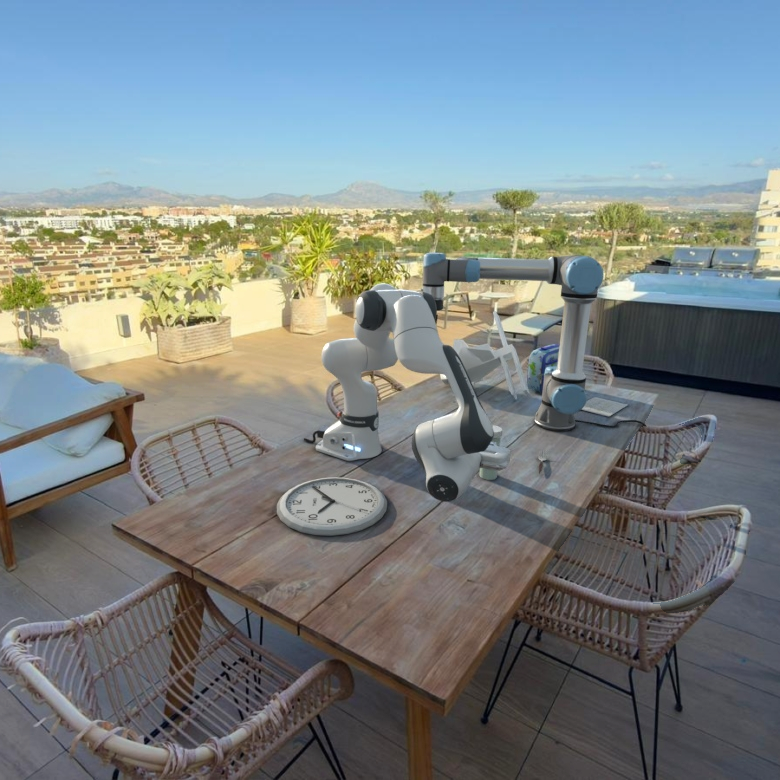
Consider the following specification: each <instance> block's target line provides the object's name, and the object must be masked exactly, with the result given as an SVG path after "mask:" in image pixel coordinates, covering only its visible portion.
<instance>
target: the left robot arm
mask: <svg viewBox="0 0 780 780" xmlns="http://www.w3.org/2000/svg"><path fill="white" fill-rule="evenodd" d="M354 313H355V314H354V315H355V319H354V323H353V334H354V336H355V337H350V338H340V339H335V340H332V341H329V342H326V343H325V344H324V346H323V347H322V350H321V354H320V359H321V363H322V366H323V367H324V368H325V370H326V371H327V372H328V373H330V374H332V375H333V376H334V377H335V378H336V379H337V380H338V382H339V384H340V386H341V389H342V395H343V409H342V410H340V411H339V412H338V413H337V414H336V415H337V416H336V418H339V420H337V421H335V422H334V423H333V424H331V425H330V426H329V425H323V426H321V427H319V429H317V430H315V431H314V432H313V433H312V439H308V438H303V441H304V442H307V443H310V444H313V443H315V442H316V440H317V439H316V437H317V438H318V439H321V440H320V441H319V442H318V443H316V445H315V451H316V452H319V453H323V454H325V455H328V456H331V457H335V458H338V459H340V460H343V461H347V462H353V461H356V460H364V459H371V458H374V457H377V456H379V455H380V454H381V453H382V452H383V451H382V450H383V449H382V445H381V443H380V436H379V425H380V423H379V422H380V418H379V417H380V415H379V414H380V413H379V410H378V389H377V387H376V386H375V385H374V384H373V383H371V382H370V381H368V380H365V379H363V378H362V373H363V372H373V371H381V370H385V369H388V368H391V367H393V366H395V365H396V364H397V362H399V363H400V365H402V366H403V367H404V368H405V369H407V370H408V371H411V372H414V373H417V374H425V375H427V374H428V375H429V374H430V375H432V374H433V375H434V374H435V375H440V374H443V375H445V376H446V377H447V379H448V381H449V383H450V385H449V386H450V388H451V390H452V393H453V396H454V397H455V398H454V399H455V400H456V402H457V405H458V407H457V410H456V411H454V412H451V413H448V414H445V415H443V416H440V417H436V418H433V419H430V420H427V421H425V422H422V423H418V424H417V425H416V426H415V428H414V430H413V433H412V438H411V450H412V453H413V456H414V458H415V460H416V462H417V463H418V464H419V466H420V467H421V468H422V469H423V471H425V486H426V490H427V492H428V494H429V495H430V496H431V497H432V498H434V499H435V500H437V501H440V502H444V503H445V502H446V503H449V502H454V501H456V500H457V499H459V498H460V497H461V496H463V494H464V493H465V492H466V491H468V489H469V487H470V486H471V483H472V481H473V479H475V478H476V475H477V474H478V473H479V471H480V468H484V469H489V470H495V471H497V472H498V471H503V470H504V469H507V467H508V465H509V464H510V463H511V454H512V452H511V450H510V449H509V448H508V447H504V446H500V447H498V446H497V443H496V442H491V441H492V439H493V436H494V431H493V427H492V425H493V424H492V422H491V420H490V417H489V415H488V414H487V412H486V411H485V408H484V407H483V405H482V403H481V401H480V399H479V397H478V394H477V392H476V389H475V387H474V385H473V382H471V380H470V378H469V376H468V374H467V371H466V369H465V367H464V365H463V363H462V361H461V359H460V357H459V355H458V354H457V352H456V351H455V350H454V349H453V346H451V345H449V344H444V342H443V341H442V339H441V337H440V335H439V330H438V326H437V324H436V323H435V319H436V315H437V314H438V311H437V306H436V302H435V300H434V298H433V297H432V295H431V294H429V293H426V292H423V291H421V290H417V291H415V290H408V289H397V288H396V287H395V286H393V285H391V284H390V283H389V284H388V283H378V284H375V285H373V286H372V287H371V288H370V289H369V290H365V291H362V292H361V293H360V294H359V296H357V298H356V302H355V307H354ZM391 333H392V337H390V335H391Z"/></svg>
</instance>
